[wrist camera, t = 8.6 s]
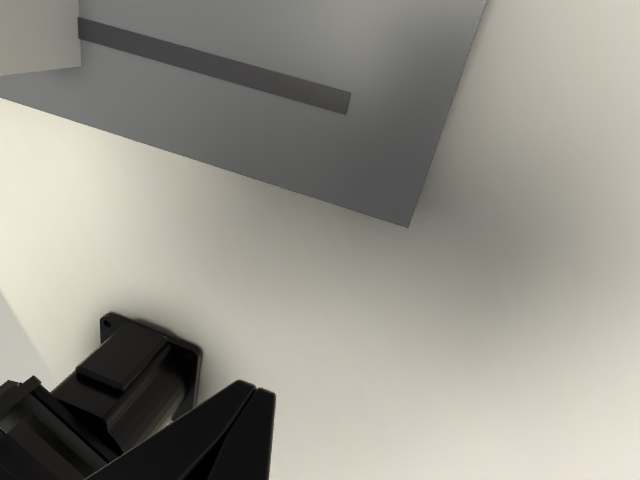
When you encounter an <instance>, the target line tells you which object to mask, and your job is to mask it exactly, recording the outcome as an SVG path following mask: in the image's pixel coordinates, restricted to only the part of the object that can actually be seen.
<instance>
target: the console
mask: <svg viewBox="0 0 640 480" xmlns="http://www.w3.org/2000/svg"><path fill="white" fill-rule="evenodd" d="M486 2H487V0H0V98H3V99H7V100H10V101H13V102H16V103H19V104H22V105H25V106H28V107H32V108H35V109H38V110H41V111H44V112H47V113H50V114H53V115H57V116H60V117H63V118H66V119H69V120H72V121H75V122H78V123H82V124H85V125H88V126H91V127H94V128H97V129H100V130H103V131H107V132H110V133H113V134H116V135H119V136H122V137H125V138H128V139H132V140H135V141H138V142H141V143H144V144H147V145H150V146H153V147H157V148H160V149H163V150H166V151H169V152H172V153H175V154H178V155H182V156H185V157H188V158H191V159H194V160H197V161H200V162H204V163H207V164H210V165H213V166H216V167H219V168H222V169H225V170H229V171H232V172H235V173H238V174H241V175H244V176H247V177H250V178H254V179H257V180H260V181H263V182H266V183H269V184H272V185H275V186H279V187H282V188H285V189H288V190H291V191H294V192H297V193H300V194H304V195H307V196H310V197H313V198H316V199H319V200H322V201H325V202H329V203H332V204H335V205H338V206H341V207H344V208H347V209H350V210H354V211H357V212H360V213H363V214H366V215H369V216H372V217H375V218H379V219H382V220H385V221H388V222H391V223H394V224H397V225H400V226H404V227H407V228H408V227H409V224H410V221H411V218H412V216H413V213H414V210H415V207H416V204H417V201H418V198H419V195H420V192H421V190H422V187H423V184H424V181H425V178H426V175H427V172H428V169H429V167H430V164H431V161H432V158H433V155H434V152H435V149H436V146H437V143H438V141H439V138H440V135H441V132H442V129H443V126H444V123H445V120H446V118H447V115H448V112H449V109H450V106H451V103H452V100H453V97H454V94H455V92H456V89H457V86H458V83H459V80H460V77H461V74H462V71H463V68H464V66H465V63H466V60H467V57H468V54H469V51H470V48H471V45H472V43H473V40H474V37H475V34H476V31H477V28H478V25H479V22H480V19H481V17H482V14H483V11H484V8H485V5H486Z"/></svg>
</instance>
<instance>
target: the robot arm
mask: <svg viewBox="0 0 640 480" xmlns="http://www.w3.org/2000/svg"><path fill="white" fill-rule="evenodd" d="M100 337H101V345H100V346H99V347H98V348H97V349H96V350H95V351H93V352H92V353H91V354H90V355H89V356H88V357H87V358H86V359H84V360H83V361H82V362H81V363H80V364H79V365H78V366H77V367H76V370H75V371H74V372H73V373H72V374H70V375H69V376H68V377H67V378H66V379H65V380H64V381H63V382H61V383H60V384H59V385H58V386H57V387H56V388H55V389H54V390H53V391H51V392H49V391H48V390H46V389H45V388H44V387H43V386H42V385H41V383H42V382H41V381H40V380H39V379H38V378H36V377H35V376H32V377H31V378H29V379H28V380H27V381H25V382H24V383H18V382H14V381H10V380H8V381H7V382H5V383H4V384H3V385H2V386H0V480H269V473H270V462H271V450H272V439H273V427H274V416H275V404H276V394H275V393H274V392H271V391H268V390H266V389H263V388H260V387H259V388H257V387H256V386H255V385H253V384H251V383H248V382H246V381H243V380H237V381H235V382H233V383H232V384H230V385H229V386H227V387H226V388H224V389H223V390H221V391H219V392H218V393H216V394H215V395H213V396H212V397H210V398H209V399H207V400H206V401H204V402H203V403H201V404H199V405H198V406H196V400H197V391H198V382H199V373H200V364H201V351H200V350H199V349H198V348H197V347H196V346H194V345H191V344H188V343H186V342H183V341H181V340H178V339H176V338H173V337H170V336H168V335H165V334H163V333H160V332H158V331H155V330H153V329H150V328H147V327H145V326H142V325H140V324H137V323H135V322H132V321H129V320H127V319H124V318H122V317H119V316H117V315H114V314H111V313H107V314H105V315H104V316H103V317H102V318H101V319H100ZM170 420H172V421H173V422H172V423H170V424H169V425H167V424H168V423H169V421H170ZM166 425H167V426H166ZM4 431H5V432H6V433H7V434H6V433H5V432H4Z"/></svg>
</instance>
